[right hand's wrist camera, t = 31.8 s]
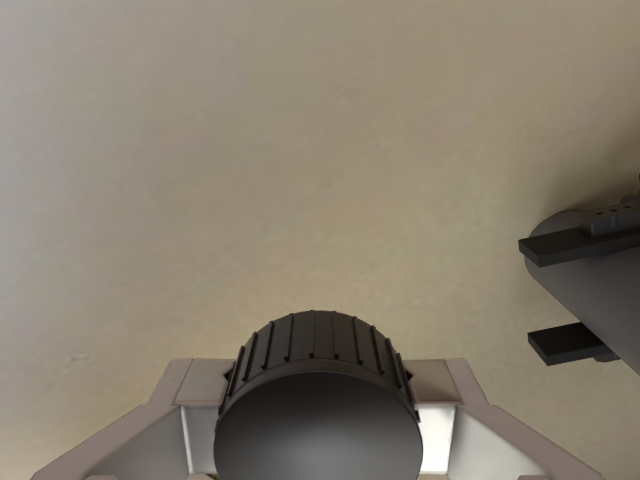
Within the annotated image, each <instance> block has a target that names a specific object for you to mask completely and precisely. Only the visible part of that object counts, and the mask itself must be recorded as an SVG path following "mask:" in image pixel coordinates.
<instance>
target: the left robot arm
mask: <svg viewBox="0 0 640 480" xmlns="http://www.w3.org/2000/svg"><path fill="white" fill-rule="evenodd" d="M639 181H640V175H639ZM578 220H579V227H575V228H570V229H566V230H561V231H557V232H552V233H548V234H543V235H538V236H534V237H529V238H525V239H520V240H518V242H519V251H520V252H521V253H523V254H524V255H525V256H526V257H527V258H528V259H530V260H531V261H532V262H533V263H534V264H535V265H537V266H538V267H539V268H541V267H545V266H550V265H555V264H559V263H564V262H569V261H573V260H578V259H583V258H587V257H592V256H596V255H601V254H606V253H610V252H615V251H620V250H624V249H629V248H634V247H638V246H640V192H639V194H638V195H635V194H628V195H626V196H624V197H623V198H622V200H621V202H620V204H618V205H614V206H609V207H605V208H600V209H597V210H591V211H587V212H585V213H583V214H582V215H580V216H578ZM528 342H529V344H530V345H531V346H532V347H533V349H534V350H535V351H536V352H537V354H538V355H539V356H540V357H541V359H542V360H543V361H544V362H545V364H546V365H547V366H551V365H556V364H561V363H566V362H571V361H576V360H581V359H586V358H591V357H593V358H594V359H595V360H596V361H597V362H610V361H613V360H620V359H621V358H620V357H619V356H618V355H617V354H616V353H615V352H613V351H612V350H611V349H610V348H609V347H608V346H607V345H606V344H605V343H604V342H603V341H601V340H600V339H599V338H598V337H597V336H596V335H595V334H594V333H593V332H592V331H591V330H590V329H588V328H587V327H586V326H585V325H584V324H583V323H582V322H578V323H573V324H568V325H563V326H559V327H554V328H549V329H544V330H539V331H534V332H529V333H528Z"/></svg>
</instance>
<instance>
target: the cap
mask: <svg viewBox="0 0 640 480" xmlns="http://www.w3.org/2000/svg"><path fill="white" fill-rule="evenodd" d="M227 381H228V383H229V385H228V388H227V391H226V394H225V397H224V401H223V404H222V406H220V407H219V411H218V414H219V415H220V418H219V422H218V424H216V426H215V430H214V433H215V437H214V442H213V459H214V465H215V468H216V472H217V475H218V477H219V479H220V480H417V477H418V475H419V473H420V469H421V465H422V461H423V450H424V449H423V439H422V435H421V431H420V428H419V424H418V423H421V420H420V416H419V414H418V415H416V414H415V410H414V407H413V405H414V404H415V403H414V400H413V396H412V393H411V389H410V386H409V382H408V379H407V375H406V372H405V369H404V365H403V362H402V358H401V355H400V353H397V352H396V351H395V349H394V348H393V346H392V345H391V341H390V339H389V338H387V339H386V338H385V336H383V335H382V334H381V333H380V332H379V331H378V330H376V327H375V326H373V325H372V326H370V325H369V324H367V323H366V322H364V321H362V320H360V319H358V318H357V317H355V316H353V317H352V316H349V315H347V314H343V313H338V312H336V311H322V310H321V311H314V310H310V311H305V312H298V313H294V314H293V313H290V314H289V315H287V316H284V317H282V318H279V319H277V320H275V321H270V322H269V324H268V325H266V326H265V327H263V328H262V329H260V330H259V331H258V332H254V333H253V334H252V337H251V338H250V339H249V340H248V342H247V343H246V344H245V346H241V348H240V350H239V354H238V357H237V361H236V362H235V364H234V367H233V370H232V371H230V374H229V377H228V380H227Z"/></svg>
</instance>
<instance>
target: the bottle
mask: <svg viewBox="0 0 640 480" xmlns="http://www.w3.org/2000/svg"><path fill="white" fill-rule="evenodd" d="M583 213H585V212H584V211H575V210H574V211H565V212H561V213H558V214H555V215H553V216H551V217H549V218H548V219H546V220H545V221H543V222H542V223H541V224H540V225H539V226H538V227H537V228H536V229H535V230H534V231H533V233H532V234H531V236H530V237H534V236H538V235H543V234H548V233H552V232H557V231H561V230H566V229H570V228H575V227H579V220H578V216H580V215H582V214H583ZM525 263H526V267H527V269H528V271H529V273H530V274H531V276H532V277H533V278H534V279H535V280H536V281H537V282H538V283H540V284H541V285H542V286H543V287H544V288H545V289H546V290H547V291H548V292H549V293H550V294H552V295H553V296H554V297H555V298H556V299H557V300H558V301H559V302H560V303H561V304H562V305H563V306H565V307H566V308H567V309H568V310H569V311H570V312H571V313H572V314H573V315H574V316H575V317H576V318H578V319H579V320H580V321H581V322H582V323H583V324H584V325H585V326H586V327H587V328H588V329H590V330H591V331H592V332H593V333H594V334H595V335H596V336H597V337H598V338H599V339H600V340H601V341H603V342H604V343H605V344H606V345H607V346H608V347H609V348H610V349H611V350H612V351H613V352H615V353H616V354H617V355H618V356H619V357H620V358H621V359H622V360H623V361H624V362H625V363H626V364H628V365H629V366H630V367H631V368H632V369H633V370H634V371H635V372H636V373H637V374H638V375H640V246H638V247H634V248H629V249H624V250H620V251H615V252H610V253H606V254H601V255H596V256H592V257H587V258H583V259H578V260H573V261H569V262H564V263H559V264H555V265H550V266H545V267H541V268H539V267H538V266H537V265H535V264H534V263H533V262H532V261H531V260H530V259H528V258H527V257H526V256H525Z"/></svg>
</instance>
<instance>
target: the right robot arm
mask: <svg viewBox="0 0 640 480" xmlns="http://www.w3.org/2000/svg"><path fill="white" fill-rule="evenodd" d="M236 361H237V359H193V358H174V359H172V360H171V361H170V362H169V363H168V365H167V367H166V369H165V371H164V373H163V375H162V376H161V378H160V380H159V382H158V384H157V386H156V388H155V390H154V392H153V393H152V395H151V397H150V399H149V401H148V403H147V405H139V406H138V407H136V408H135V409H133V410H132V411H130V412H129V413H127V414H125V415H124V416H122V417H121V418H119V419H118V420H116V421H115V422H113V423H112V424H110V425H108V426H107V427H105V428H104V429H102V430H101V431H99V432H98V433H96V434H95V435H93V436H91V437H90V438H88V439H87V440H85V441H84V442H82V443H81V444H79V445H77V446H76V447H74V448H73V449H71V450H70V451H68V452H67V453H65V454H64V455H62V456H60V457H59V458H57V459H56V460H54V461H53V462H51V463H50V464H48V465H47V466H45V467H43V468H42V469H40V470H39V471H37V472H36V473H35V474H34V475H33V476H32V478H31V479H30V480H214V479H213V478H211V477H209V476H208V475H206V474H217V472H216V468H215V465H214V459H213V442H214V437H215V433H214V430H215V426H216V424H218V422H219V418H220V415H219V414H218V411H219V407H220V406H222V404H223V401H224V397H225V394H226V391H227V388H228V385H229V383H228V381H227V380H228V377H229V374H230V371H232V370H233V367H234V364H235V362H236ZM402 362H403V365H404V369H405V372H406V375H407V379H408V382H409V386H410V389H411V393H412V396H413V400H414V403H415V404H414V405H413V407H414V410H415V414H416V415H418V414H419V416H420V420H421V423H418V424H419V428H420V431H421V435H422V439H423V449H424V450H423V461H422V465H421V469H420V473H419V474H448V477H449V478H450V479H451V480H605V479H604V477H603V476H602V474H601V473H599V472H598V471H596V470H595V469H593V468H592V467H590V466H588V465H587V464H585V463H584V462H582V461H581V460H579V459H578V458H576V457H575V456H573V455H572V454H570V453H569V452H567V451H566V450H564V449H562V448H561V447H559V446H558V445H556V444H555V443H553V442H552V441H550V440H549V439H547V438H546V437H544V436H543V435H541V434H540V433H538V432H536V431H535V430H533V429H532V428H530V427H529V426H527V425H526V424H524V423H523V422H521V421H520V420H518V419H517V418H515V417H514V416H512V415H510V414H509V413H507V412H506V411H504V410H503V409H501V408H500V407H498V406H497V405H489V403H488V401H487V399H486V397H485V395H484V393H483V391H482V389H481V387H480V385H479V384H478V382H477V380H476V378H475V376H474V374H473V372H472V370H471V368H470V366H469V364H468V362H467V361H466V360H465V359H464V358H452V359H434V360H402Z"/></svg>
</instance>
